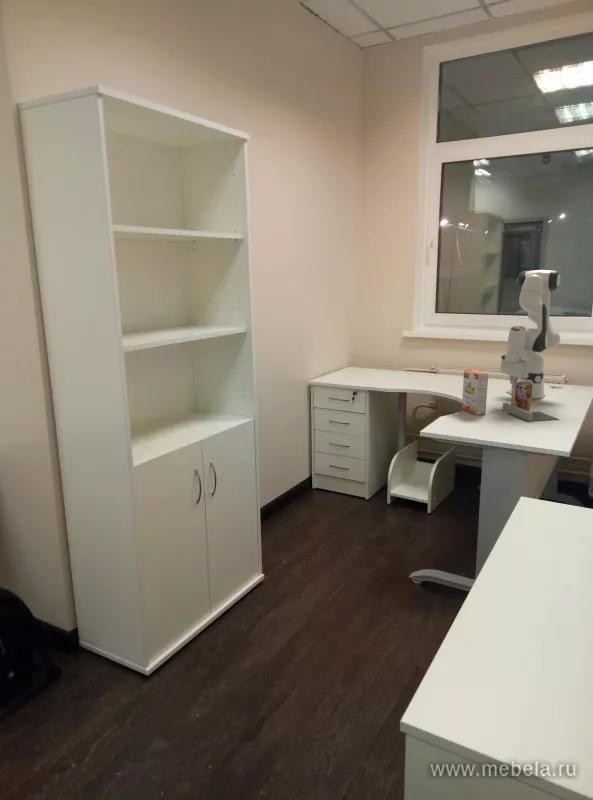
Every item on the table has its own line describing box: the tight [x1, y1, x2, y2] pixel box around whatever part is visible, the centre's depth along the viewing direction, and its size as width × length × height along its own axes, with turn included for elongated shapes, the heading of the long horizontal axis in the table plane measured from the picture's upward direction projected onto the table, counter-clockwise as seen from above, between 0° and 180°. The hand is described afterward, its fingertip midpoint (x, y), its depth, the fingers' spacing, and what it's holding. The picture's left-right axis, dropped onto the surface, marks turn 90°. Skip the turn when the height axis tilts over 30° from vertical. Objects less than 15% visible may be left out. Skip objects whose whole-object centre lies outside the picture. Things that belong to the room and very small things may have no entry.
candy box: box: [510, 382, 532, 412], centre depth 291 cm, size 9×4×15 cm, turn 96°
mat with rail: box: [502, 402, 560, 422], centre depth 285 cm, size 23×18×4 cm
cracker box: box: [461, 369, 489, 416], centre depth 289 cm, size 14×6×21 cm, turn 13°
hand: (513, 384), depth 297 cm, fingers closed
